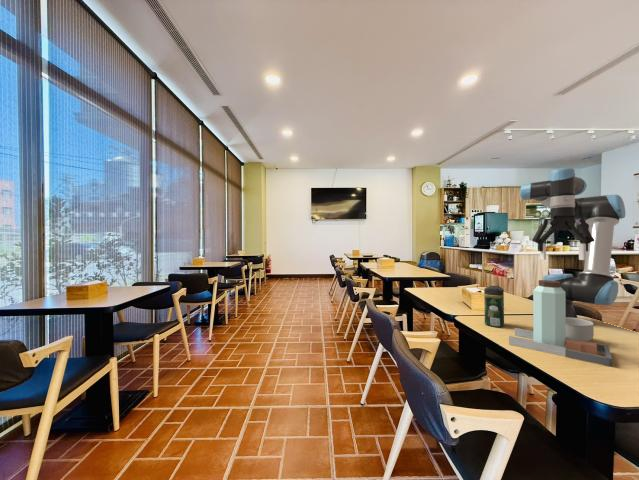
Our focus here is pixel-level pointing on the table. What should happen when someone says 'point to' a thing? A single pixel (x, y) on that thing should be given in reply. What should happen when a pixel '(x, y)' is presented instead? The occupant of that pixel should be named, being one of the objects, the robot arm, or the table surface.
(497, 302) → the coffee jar
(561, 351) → the slot rails
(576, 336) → the teacup
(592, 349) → the block
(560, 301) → the water bottle
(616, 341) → the table surface
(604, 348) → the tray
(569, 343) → the block
